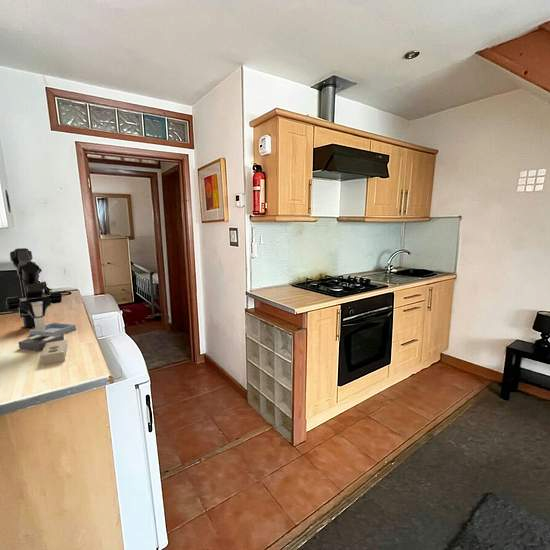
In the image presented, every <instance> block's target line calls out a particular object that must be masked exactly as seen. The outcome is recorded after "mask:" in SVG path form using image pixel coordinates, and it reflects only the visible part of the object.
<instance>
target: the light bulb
mask: <svg viewBox="0 0 550 550" xmlns="http://www.w3.org/2000/svg"><path fill="white" fill-rule="evenodd" d="M31 305H32V308H33V313H34V322H35V328H34V329H35V332H41V331H45V330H46V328H45V325H46V324H45V319H44V318H45V316H43V306H42V305H43V302H42V301H37V302H32V303H31Z"/></svg>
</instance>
